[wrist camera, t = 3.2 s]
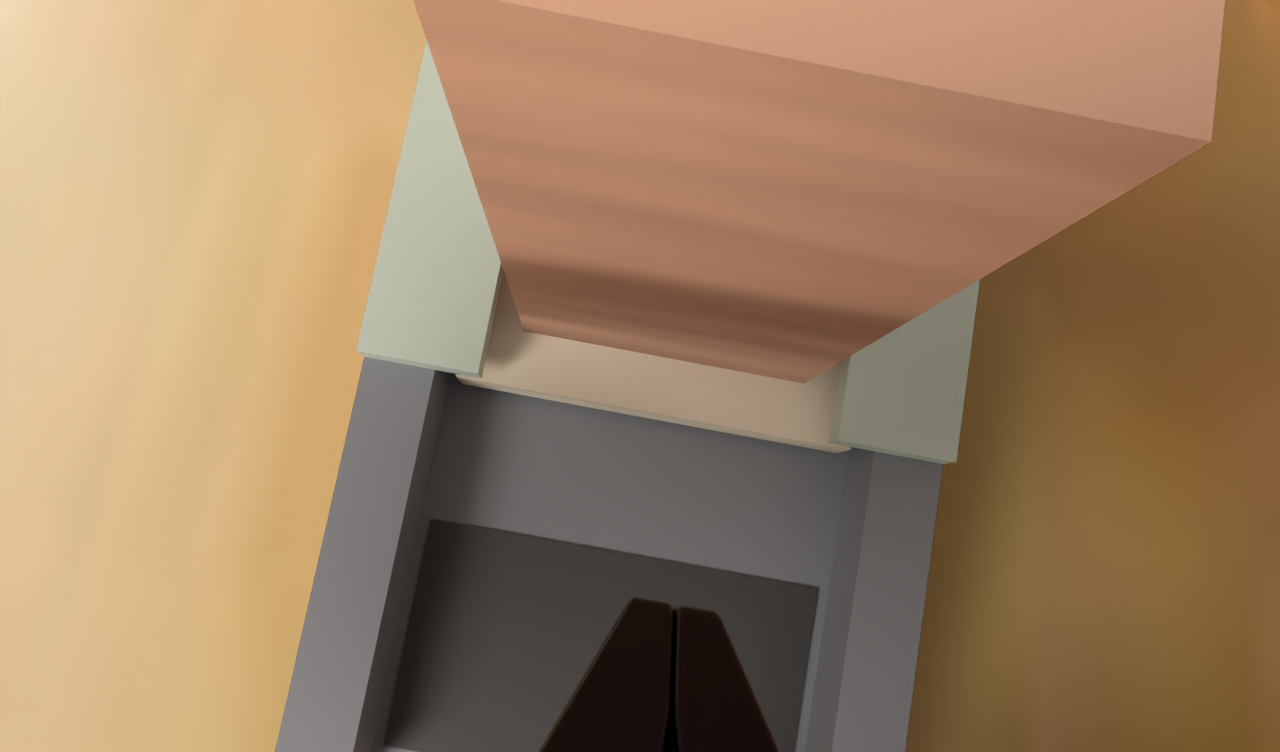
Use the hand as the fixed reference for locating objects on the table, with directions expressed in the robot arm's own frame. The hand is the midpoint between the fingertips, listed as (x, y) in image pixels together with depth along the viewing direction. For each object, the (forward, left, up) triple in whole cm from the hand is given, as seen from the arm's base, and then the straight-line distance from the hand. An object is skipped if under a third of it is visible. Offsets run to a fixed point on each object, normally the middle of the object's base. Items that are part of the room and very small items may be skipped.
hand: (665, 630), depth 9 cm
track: (+5, -3, -10) cm, 12 cm away
